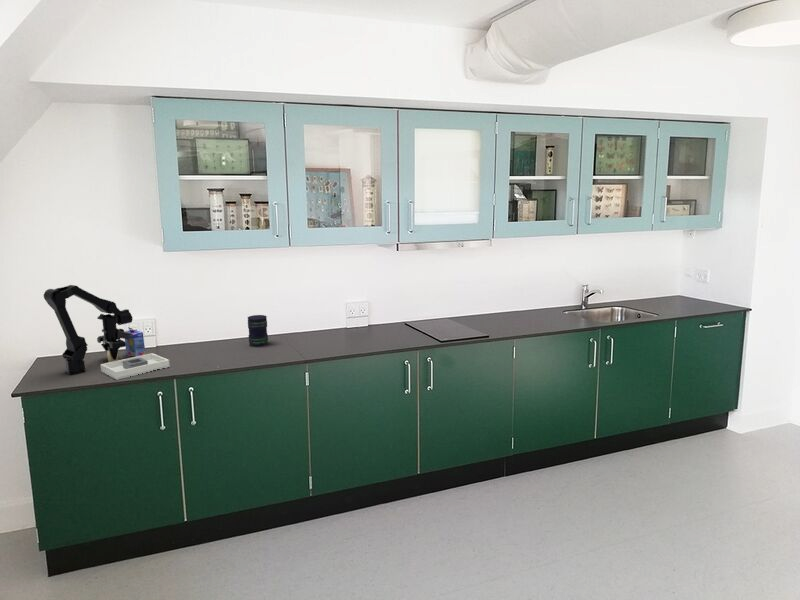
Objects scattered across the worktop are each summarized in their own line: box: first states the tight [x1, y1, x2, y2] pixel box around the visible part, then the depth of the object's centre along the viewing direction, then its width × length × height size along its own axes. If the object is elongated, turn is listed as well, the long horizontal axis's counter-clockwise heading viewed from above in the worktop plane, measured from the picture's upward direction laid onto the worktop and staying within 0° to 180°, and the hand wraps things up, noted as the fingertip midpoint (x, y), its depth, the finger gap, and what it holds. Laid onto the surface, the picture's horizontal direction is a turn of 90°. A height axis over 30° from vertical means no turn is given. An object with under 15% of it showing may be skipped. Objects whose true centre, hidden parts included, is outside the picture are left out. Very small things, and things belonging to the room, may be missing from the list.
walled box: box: [100, 352, 171, 381], centre depth 276 cm, size 24×17×4 cm
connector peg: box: [106, 350, 120, 363], centre depth 288 cm, size 4×4×6 cm
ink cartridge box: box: [124, 327, 147, 357], centre depth 297 cm, size 10×6×14 cm, turn 51°
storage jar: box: [247, 314, 269, 348], centre depth 315 cm, size 10×10×15 cm
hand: (113, 358), depth 288 cm, fingers closed on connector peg, 4 cm apart
